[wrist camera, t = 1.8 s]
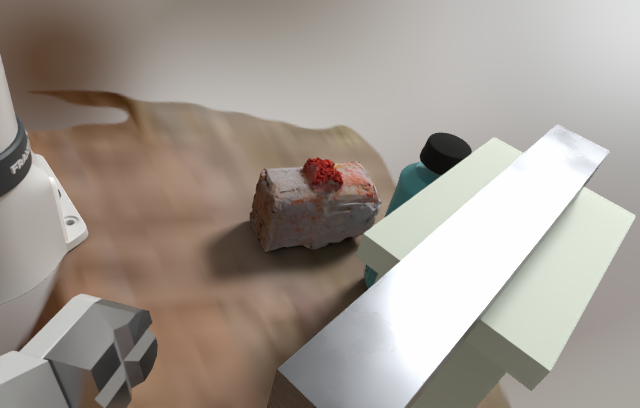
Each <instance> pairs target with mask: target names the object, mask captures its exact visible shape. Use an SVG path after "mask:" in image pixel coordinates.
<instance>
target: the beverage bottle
mask: <svg viewBox="0 0 640 408" xmlns="http://www.w3.org/2000/svg"><path fill="white" fill-rule="evenodd" d="M471 153H472V151H471V148H470V146H469V145H468V144H467V143H466V142H465V141H464V140H462V139H460V138H459V137H457V136H454V135H452V134H448V133H435V134H432V135H431V136H430V137H429V139H428V140H427V142H426V144H425V146H424V148H423V149H422V151H421V154H420V160H421V162H417V163H413V164H411V165H408V166H407V167H405V168H404V169H403V171H402V172H401V174H400V177H399V181H398V184H397V186H396V189H395V192H394V194H393V197H392V200H391V202H390V205H389V208H388V207H387V208H388V210H387V212H386V215H385V217H386V216H388V215H389V214H391V213H392V212H393V211H395V210H396V209H397V208H399V207H400V206H401V205H403V204H404V203H405V202H407V201H408V200H410V199H411V198H412V197H414V196H415V195H416V194H418V193H419V192H420V191H422V190H423V189H424V188H426V187H427V186H428V185H430V184H431V183H433V182H434V181H435V180H437V179H438V178H439V177H441V176H442V175H443V174H445V173H446V172H447V171H449V170H450V169H452V168H453V167H454V166H456V165H457V164H458V163H460V162H461V161H462V160H464V159H465V158H466V157H468V156H469V155H470V154H471ZM385 217H384V218H385ZM382 219H383V218H382ZM364 268H365V267H364ZM377 275H378V273H377V272H376V271H374V270H373V269H372V268H370V267H369V266H368V265H367V264H366V269H365V276H364V277H365V282H366V285H367V287H368V289H369V288H370V287H371V286H373V285H374V282H375V280H376V278H377Z"/></svg>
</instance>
